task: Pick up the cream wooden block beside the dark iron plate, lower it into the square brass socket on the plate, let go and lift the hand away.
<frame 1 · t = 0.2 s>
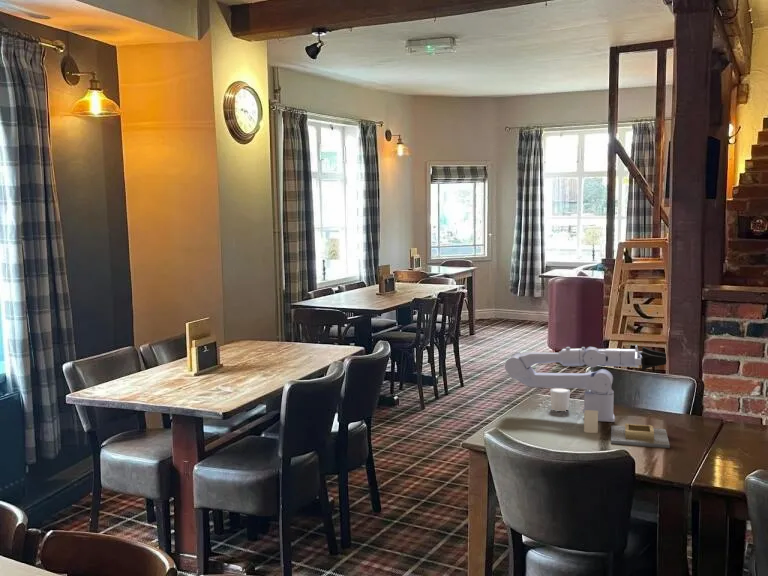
hand: (666, 358, 229), 21 cm above the table, tool horizontal, fingers open, 7 cm apart
cream block: (591, 430, 225), on the table
white cylinder: (559, 410, 250), on the table
socket plate: (639, 437, 217), on the table
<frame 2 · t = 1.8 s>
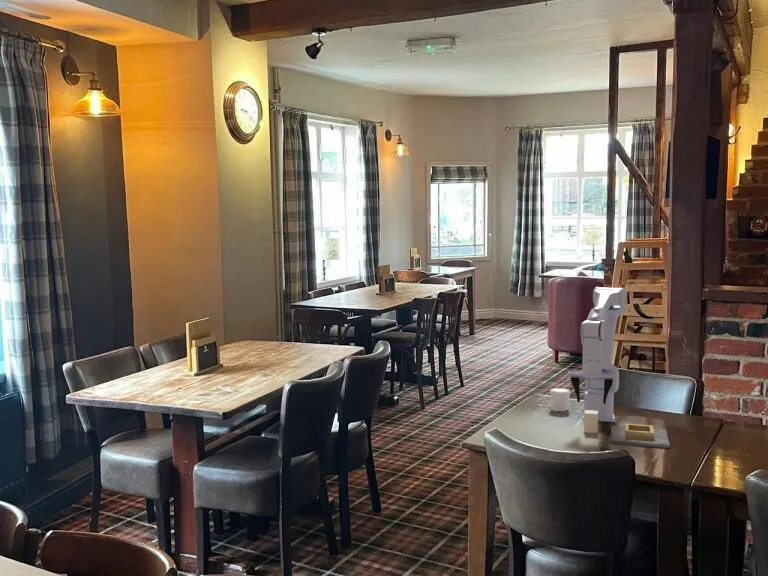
hand: (591, 402, 224), 9 cm above the table, tool pointing down, fingers open, 7 cm apart
nothing on the table moved.
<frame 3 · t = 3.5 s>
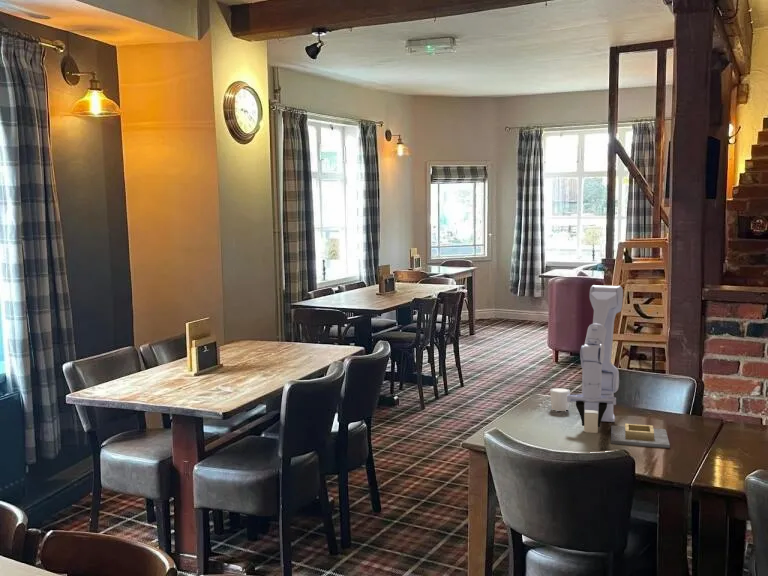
hand: (591, 425, 225), 2 cm above the table, tool pointing down, fingers closed on cream block, 4 cm apart
cream block: (591, 430, 225), on the table, touching gripper
everything else where it was.
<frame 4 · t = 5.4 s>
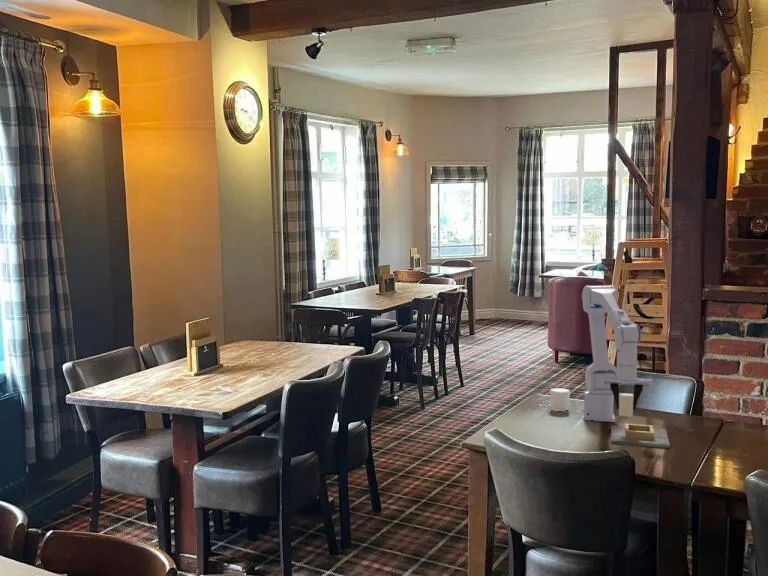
hand: (626, 408, 218), 8 cm above the table, tool pointing down, fingers closed on cream block, 4 cm apart
cream block: (625, 414, 218), point 7 cm above the table, touching gripper
everything else where it was.
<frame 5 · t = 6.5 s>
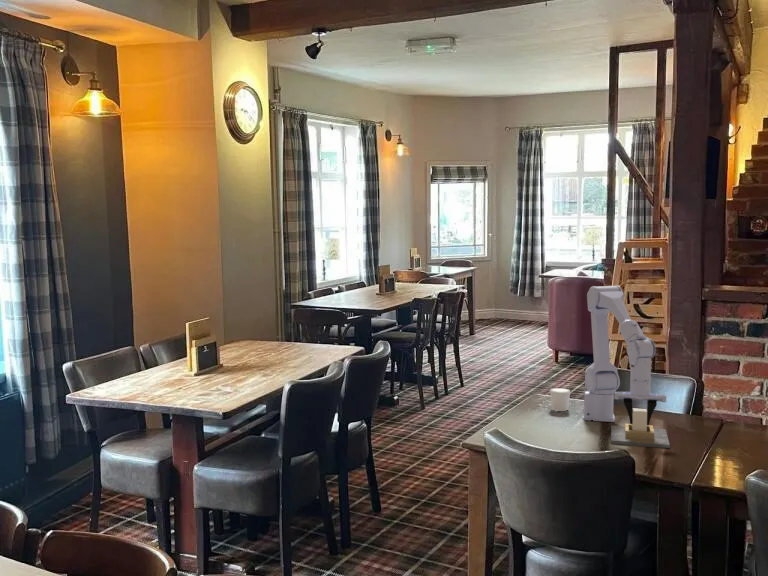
hand: (639, 423, 216), 4 cm above the table, tool pointing down, fingers closed on cream block, 4 cm apart
cream block: (639, 429, 216), point 3 cm above the table, touching gripper
everything else where it was.
when the fingers open (4 cm above the table, at t = 7.3 s): cream block drops 1 cm, resting on socket plate.
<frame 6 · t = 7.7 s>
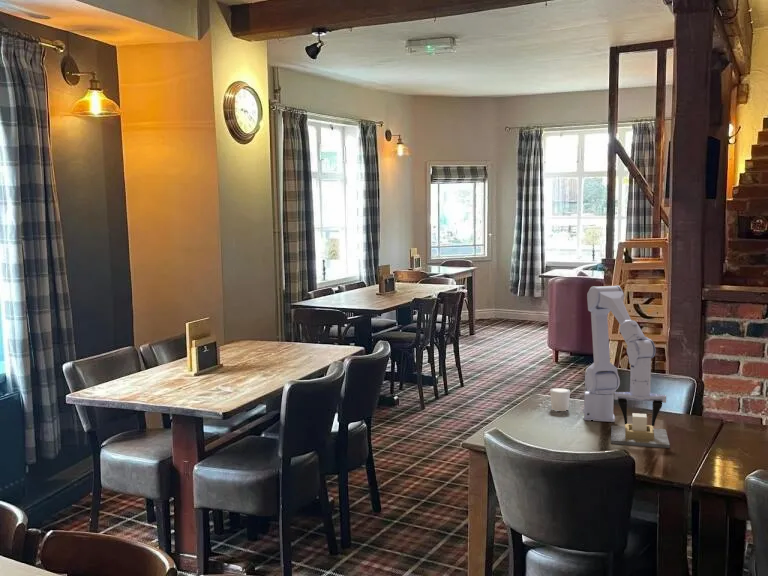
hand: (639, 424, 217), 4 cm above the table, tool pointing down, fingers open, 7 cm apart
cream block: (639, 434, 217), point 1 cm above the table, touching socket plate
everything else where it was.
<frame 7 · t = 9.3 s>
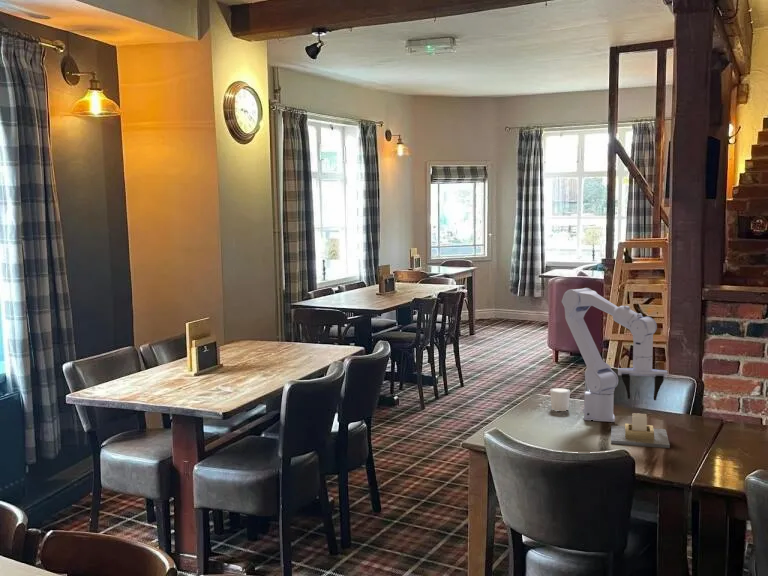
hand: (641, 398, 226), 9 cm above the table, tool pointing down, fingers open, 7 cm apart
nothing on the table moved.
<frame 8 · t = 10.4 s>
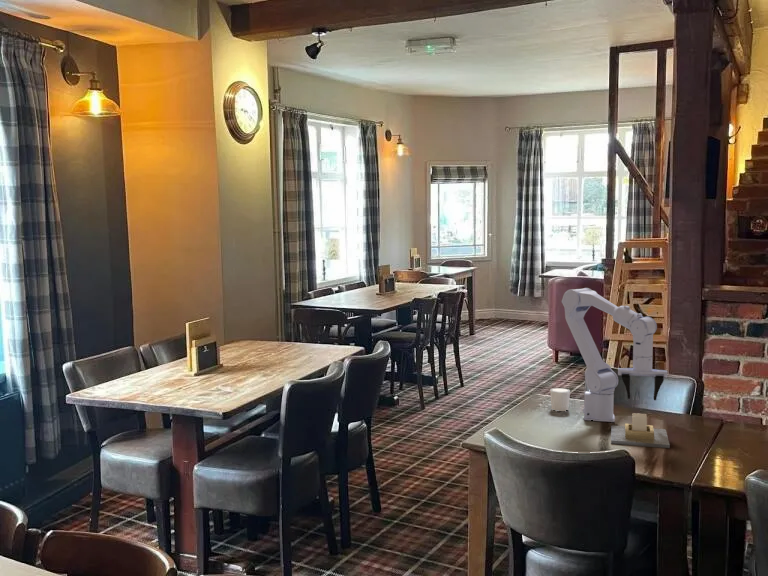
hand: (641, 398, 226), 9 cm above the table, tool pointing down, fingers open, 7 cm apart
nothing on the table moved.
at the end: cream block 0.1 cm off-centre on the socket plate, point 1.0 cm above the socket plate's base; cream block tilted 0°; the gripper is holding nothing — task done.
